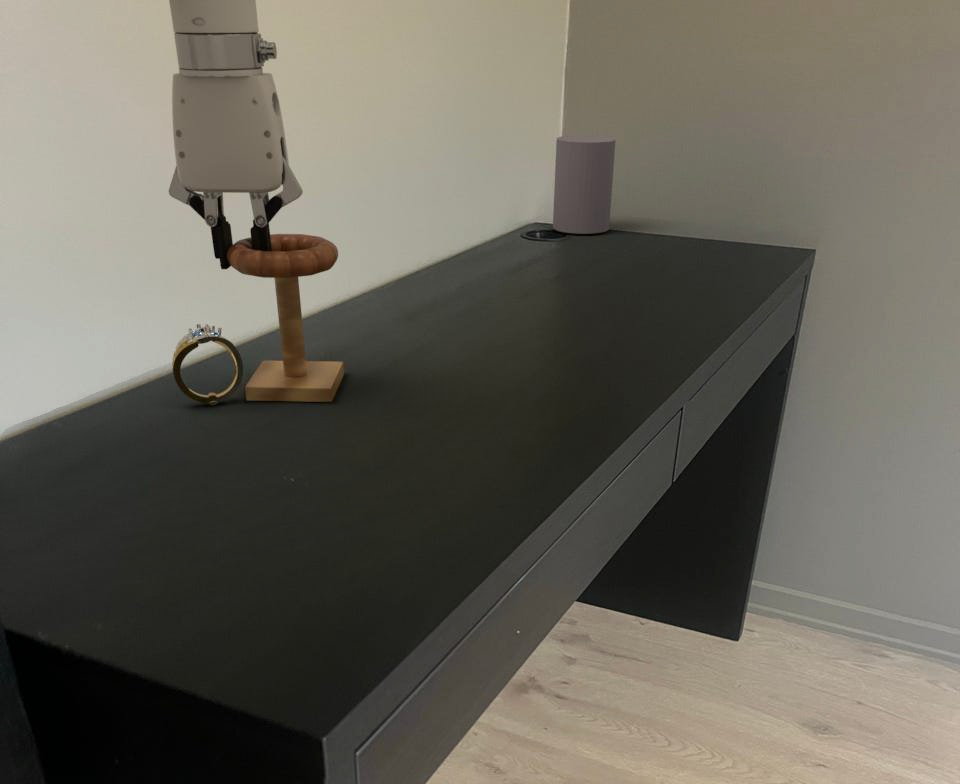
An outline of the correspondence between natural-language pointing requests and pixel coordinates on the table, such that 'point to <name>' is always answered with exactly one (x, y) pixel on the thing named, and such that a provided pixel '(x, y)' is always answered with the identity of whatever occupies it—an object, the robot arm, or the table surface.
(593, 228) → the container
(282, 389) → the post
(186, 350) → the ring
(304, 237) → the ring
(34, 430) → the table surface
